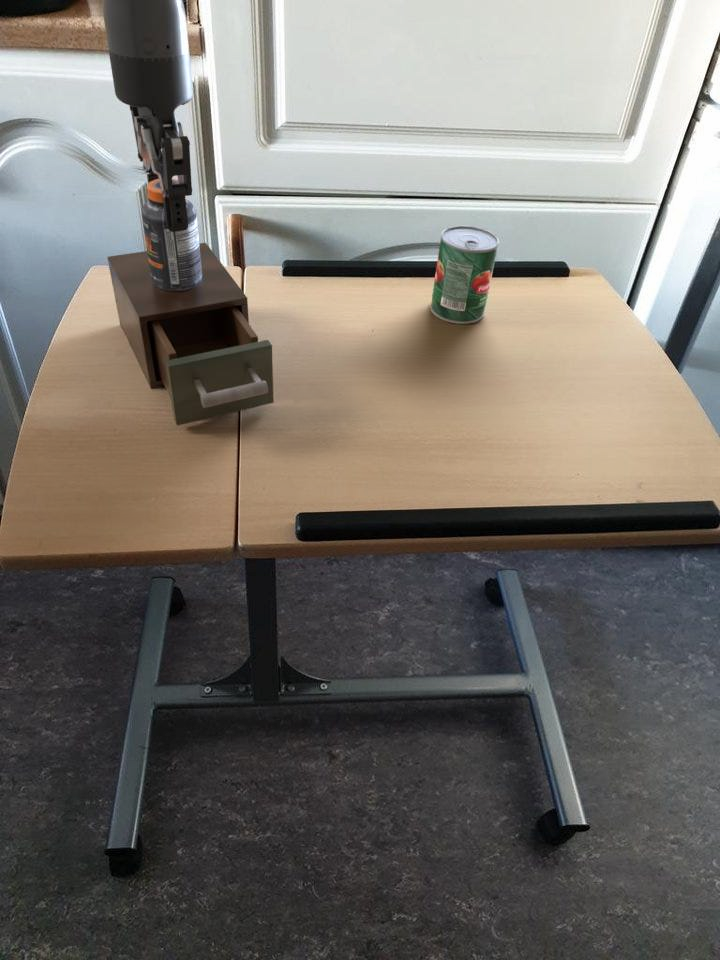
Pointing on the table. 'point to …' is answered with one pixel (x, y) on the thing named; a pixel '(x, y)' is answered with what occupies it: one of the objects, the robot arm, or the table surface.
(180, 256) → the pill bottle
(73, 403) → the table surface
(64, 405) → the table surface
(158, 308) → the cabinet
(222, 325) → the drawer
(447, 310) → the canned tomato
